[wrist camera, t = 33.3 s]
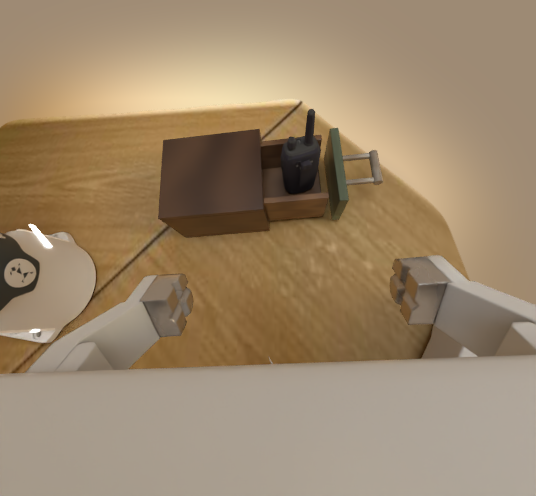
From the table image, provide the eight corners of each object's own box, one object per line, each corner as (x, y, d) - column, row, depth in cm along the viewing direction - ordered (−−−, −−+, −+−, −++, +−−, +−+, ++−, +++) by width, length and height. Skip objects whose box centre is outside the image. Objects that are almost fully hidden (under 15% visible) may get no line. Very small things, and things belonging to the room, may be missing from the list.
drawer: (364, 154, 42) (378, 123, 35) (374, 216, 39) (392, 195, 32) (253, 166, 44) (246, 138, 37) (256, 226, 41) (248, 209, 34)
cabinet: (266, 164, 45) (259, 128, 36) (269, 230, 41) (263, 209, 33) (188, 172, 46) (163, 140, 37) (185, 237, 43) (158, 218, 34)
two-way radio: (312, 171, 41) (322, 95, 27) (320, 194, 40) (336, 128, 25) (280, 180, 41) (273, 110, 27) (287, 204, 40) (284, 144, 26)
